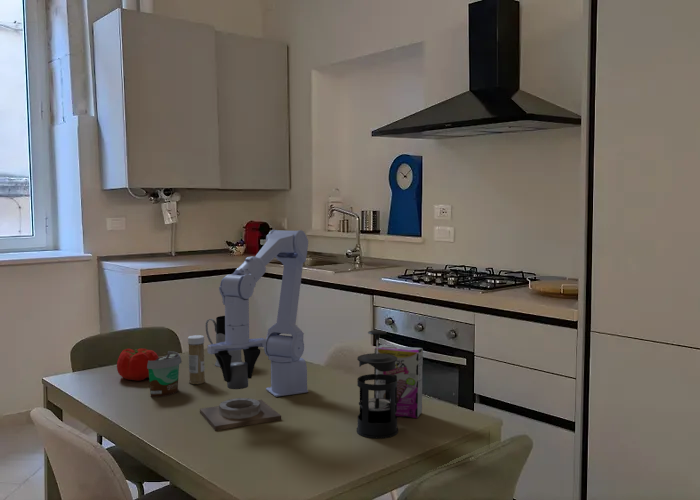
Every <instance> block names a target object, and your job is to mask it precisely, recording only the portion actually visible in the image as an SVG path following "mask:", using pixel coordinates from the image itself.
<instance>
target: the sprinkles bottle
mask: <svg viewBox="0 0 700 500" xmlns="http://www.w3.org/2000/svg"><path fill="white" fill-rule="evenodd" d="M187 344H188V372H189V376H188V377H189V381H188V383H189V384H190V385H202V384H204V383H205V382H206V379H205V378H206V377H205V375H206V374H205V349H204V348H205V347H204V344H205V336H204V335H203V334H202V335H200V334H194V335H189V336H188V337H187Z"/></svg>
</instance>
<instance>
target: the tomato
mask: <svg viewBox="0 0 700 500" xmlns="http://www.w3.org/2000/svg"><path fill="white" fill-rule="evenodd" d="M159 357H160V356H159V355H158V354H157V352H155V351H154V350H152V349H147V348H142V347H141V348H138V349H137V348H135V349H131V348H129V347H128V348H125V349H122V351H121V352H120V354H119V356H118V358H117V361H116V369H117V370H116V371H117V373H118V375H119V376H120V377H122V378H123V379H125V380H128V381H129V380H130V381H131V380H132V381H136V382H137V381H138V382H140V381H144V380H145V379H149V370H148V369H147V364H148V361H155V360H156V359H158V358H159Z"/></svg>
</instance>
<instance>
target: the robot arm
mask: <svg viewBox="0 0 700 500" xmlns="http://www.w3.org/2000/svg"><path fill="white" fill-rule="evenodd" d="M308 249H309V239H308V237H307V235H306V232H305V231H304V230H302V229H299V230H298V229H297V230H286V229H283V230H278V229H271V230H270V231H269V232H268V234H267V235H266V236H265V243H264V245H262V247H261V248H260V249H259V251H258V252H257V253H256V255H255V256H254V255H253V256H247V257H246V258H245V259H244V261H243V262H242V263H241V264H240V265H239V266H238V267H237V268H236V269H235V270H234V272H232V273H231V274H230V273H229V274H226V275H225V276H224V277H223V278H222V279H221V280H220V283H219V287H218V290H219V294H220V296H221V298H222V299H221V300H222V304H223V305H224V316H225V342H220V343H216V342H215V343H213V344H211V343H210V344H208V345H207V354H209V355H214V357H215V358H217V360H218V362H219V364H220V367H219V368H220V370H221V372H222V376H223V381H224V382H225V383H227V382H230V378H231V377H230V365H231V358H232V356H231V355H229V353H228V351H235V350H241V351H243V356H244V357H243V358H244V362H246V363H248V380H249V379H252V376H253V372H254V368H255V366H256V363H257V361H258V358H259V356H260V355H261V349H260V348H263V351H264V354H265V355H266V356H267V357H268V360H269V361H270V386H268V387H266V388H265V390H266V391H267V392H269V393H270V394H272V395H273V397H275V398H276V397H285V396H291V395H298V394H304V393H305V394H306V393H308V392H309V389H308V366H307V362H306V360H305V358H303V357H302V356H303V355H304V352H305V351H304V350H305V341H304V337H305V336H304V334H305V333H304V332H303V330H302V329H300V328H299V326H298V325H297V324H296V322H297V316H298V309H299V307H298V305H299V300H300V292H301V285H302V284H301V283H302V275H303V268H304V264H305V262H307V256H308ZM274 259H276V260H277V261H279V262H281V264H282V265H283V271H282V277H281V278H282V280H281V285H280V293H279V294H280V295H279V300H278V301H279V302H278V307H277V308H278V310H277V318H276V323H274V324H273V325H272V326H270V327H269V328H268V329H267V334H266V337H265V338H264V337H260V338H250V301H249V300H250V299H251V297H252V296H253V293H254V292H255V291H254V289H255V287H256V285H257V283H258V282H259V280H261V278H262V277H263V276H264V274H266V271H267V268H266V266H267V265H268V264H270V263H271V261H272V260H274Z"/></svg>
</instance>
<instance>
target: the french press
mask: <svg viewBox="0 0 700 500" xmlns="http://www.w3.org/2000/svg"><path fill="white" fill-rule="evenodd" d="M367 334H368V335H372V336H373V335H374V339H375V341H376V347H377V353H375V352H374V353H366V354H365V353H364V354H361V355H358V356H357V361H358V362H359V364H358V365H359V368H361V367H362V366H363V365H370V366H371V367H373V369H374V368H376V374H374V373H372V374H371V373H370V374H364V375H360V376H359V377H358V378H357V387H358V388H359V402H358V405H359V414H358V415H357V427H356V433H357V434H358V435H359V436H362V437H364V438H369V439H387V438H391V437H394V436H396V435H397V434H398V433H399V428H398V416H396V415H395V413H396V412H397V376H396V375H392V374H389V375H385V374H378V370H379V371H382V372H385V371H391V370H393V369H395V362H396V361H397V357H396V356H393V355H390V354H381V353H378V346H379V341H380V336H381V335H386V334H387V331H385V330H383V329H381V330H380V329H373V330H369V331H368V332H367ZM373 380H376V385H374V383H373V384H371V383H366V381H373ZM378 380H385V384H382V385H378ZM383 390H385V398H378V391H383ZM369 391H376V398H374V397H370V394H369Z"/></svg>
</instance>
